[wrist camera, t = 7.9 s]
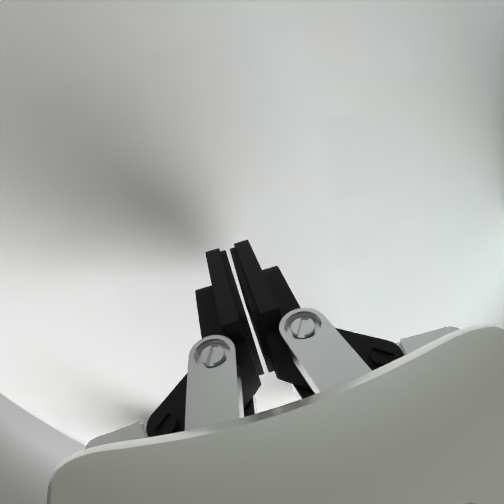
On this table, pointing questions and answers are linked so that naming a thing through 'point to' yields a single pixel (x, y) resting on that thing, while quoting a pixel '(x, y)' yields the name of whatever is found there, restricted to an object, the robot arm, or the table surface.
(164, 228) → the table surface
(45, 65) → the table surface
